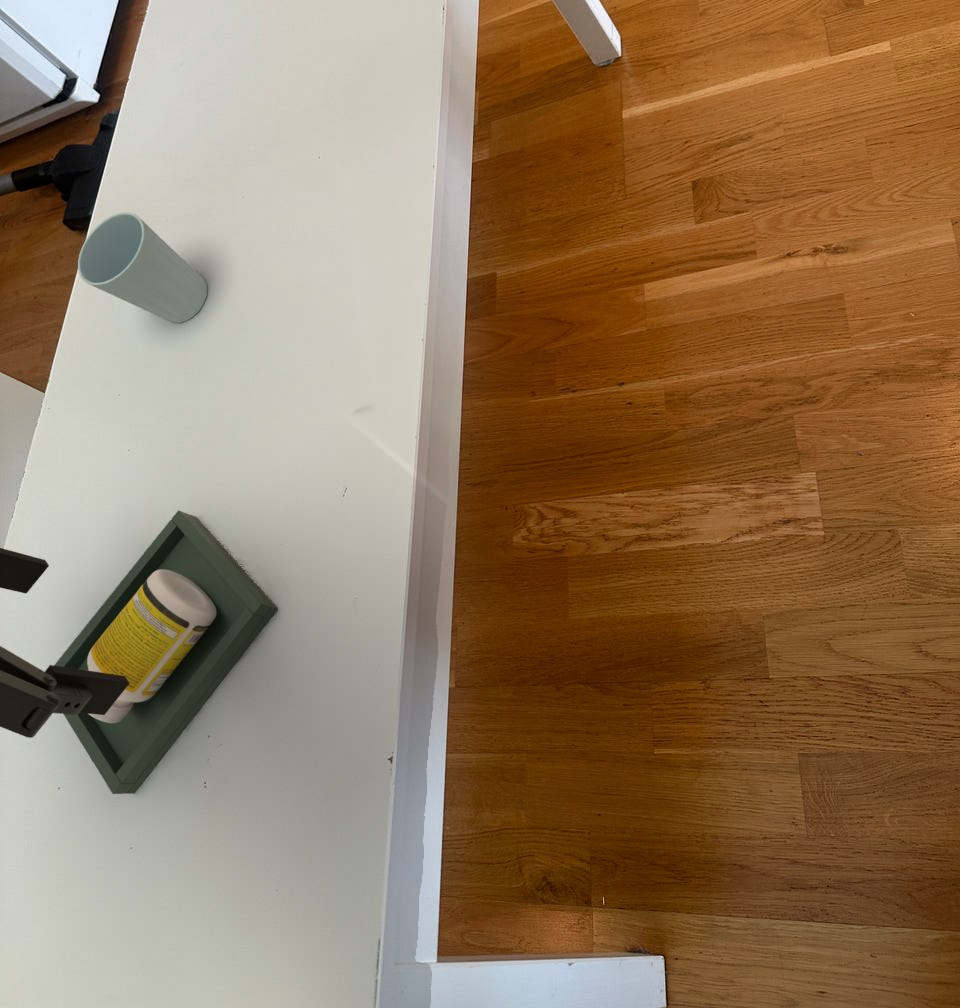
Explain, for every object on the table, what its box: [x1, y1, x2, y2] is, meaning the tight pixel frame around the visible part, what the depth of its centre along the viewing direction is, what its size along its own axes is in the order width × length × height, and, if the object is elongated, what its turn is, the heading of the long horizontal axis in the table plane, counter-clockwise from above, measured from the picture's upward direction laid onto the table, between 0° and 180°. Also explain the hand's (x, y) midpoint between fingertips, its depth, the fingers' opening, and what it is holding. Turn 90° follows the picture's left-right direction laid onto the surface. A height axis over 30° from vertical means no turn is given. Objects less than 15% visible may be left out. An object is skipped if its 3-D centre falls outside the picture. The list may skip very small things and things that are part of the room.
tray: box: [53, 509, 279, 795], centre depth 72 cm, size 18×13×2 cm
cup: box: [77, 211, 208, 324], centre depth 85 cm, size 8×8×10 cm
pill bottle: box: [87, 569, 217, 723], centre depth 69 cm, size 6×6×11 cm
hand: (73, 632), depth 65 cm, fingers open, 13 cm apart
